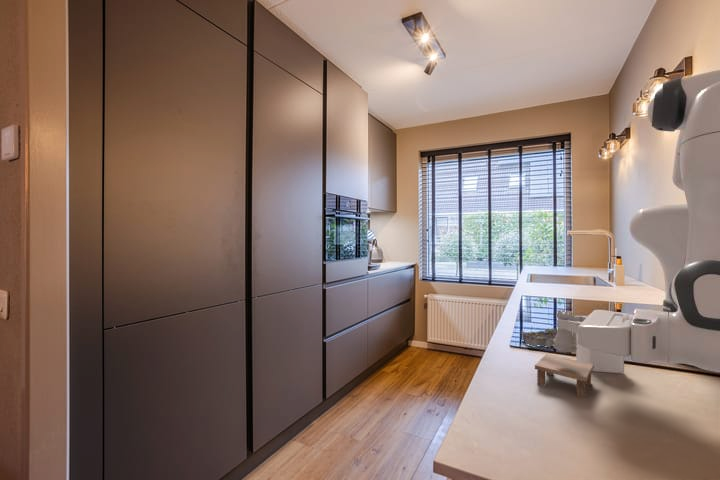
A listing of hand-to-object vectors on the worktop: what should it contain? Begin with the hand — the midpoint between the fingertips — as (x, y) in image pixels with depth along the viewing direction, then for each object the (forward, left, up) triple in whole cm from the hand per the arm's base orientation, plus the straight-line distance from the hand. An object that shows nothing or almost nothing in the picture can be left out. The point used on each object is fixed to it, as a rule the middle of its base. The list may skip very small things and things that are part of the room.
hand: (560, 321), depth 70 cm
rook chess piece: (0, +1, -6) cm, 6 cm away
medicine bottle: (-16, +5, -13) cm, 22 cm away
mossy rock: (-26, -9, -13) cm, 31 cm away
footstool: (0, +1, -13) cm, 13 cm away
